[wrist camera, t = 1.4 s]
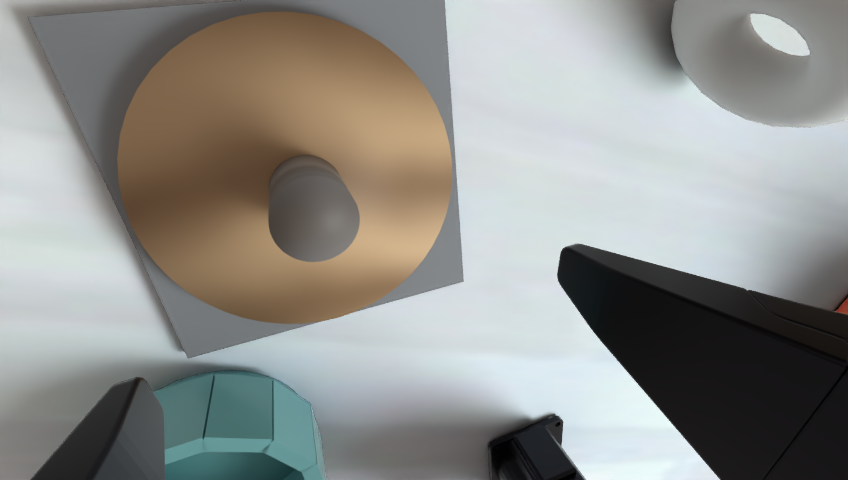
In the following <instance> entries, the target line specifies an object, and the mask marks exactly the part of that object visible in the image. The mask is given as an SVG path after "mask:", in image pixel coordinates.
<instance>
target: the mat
mask: <svg viewBox="0 0 848 480" xmlns="http://www.w3.org/2000/svg"><path fill="white" fill-rule="evenodd" d="M288 11H289V12H297V13H305V14H313V15H318V16H321V17H325V18H329V19H332V20H336V21H339V22H342V23H344V24H346V25H349V26H351V27H353V28H356V29H358V30H361V31H362V32H364V33H366V34H367V35H369V36H371V37H372V38H374V39H376V40H378V41H379V42H381V43H382V44H383V45H385V46H386V47H387V48H389V49H390V50H391V51H392V52H394V53H395V54H396V55H398V56H399V57H400V58H401V59H402V60H403V61H404V62H405V63H406V64H407V65H408V66H409V67H410V68H411V69H412V70H413V72H414V73H415V74H416V75H417V77H418V78H419V79H420V81H421V82H422V83H423V85H424V86H425V87H426V89H427V90H428V92H429V94H430V95H431V97H432V99H433V101H434V102H435V104H436V106H437V108H438V111H439V113H440V115H441V118H442V120H443V123H444V125H445V129H446V133H447V136H448V140H449V144H450V151H451V159H452V186H451V195H450V200H449V205H448V209H447V213H446V216H445V219H444V222H443V224H442V227H441V230H440V232H439V234H438V236H437V238H436V240H435V242H434V244H433V246H432V247H431V249H430V250H429V252H428V253H427V255H426V256H425V258H424V259H423V261H422V262H421V263H420V264H419V265H418V267H417V268H416V269H415V270H414V271H413V273H412V274H411V275H410V276H409V277H407V278H406V279H405V280H404V281H403V282H402V283H401V284H400V285H399V286H398V287H396V288H395V289H394V290H392V291H391V292H390V293H388V294H387V295H386V296H384V297H382V298H381V299H379V300H377V301H376V302H374V303H372V304H371V305H368V306H366V307H364V308H362V309H360V310H363V309H367V308H370V307H374V306H378V305H381V304H385V303H388V302H392V301H396V300H399V299H403V298H406V297H410V296H413V295H417V294H421V293H424V292H428V291H431V290H435V289H438V288H442V287H446V286H449V285H453V284H456V283H460V282H464V280H463V266H462V251H461V236H460V221H459V207H458V192H457V177H456V162H455V148H454V133H453V118H452V104H451V89H450V74H449V59H448V45H447V30H446V15H445V0H240V1H227V2H214V3H202V4H189V5H176V6H163V7H151V8H138V9H125V10H113V11H100V12H87V13H74V14H62V15H49V16H36V17H28V19H29V22H30V24H31V26H32V28H33V30H34V32H35V34H36V36H37V39H38V41H39V43H40V45H41V47H42V49H43V51H44V53H45V56H46V58H47V60H48V62H49V64H50V66H51V68H52V70H53V73H54V75H55V77H56V79H57V81H58V83H59V85H60V87H61V90H62V92H63V94H64V96H65V98H66V100H67V102H68V105H69V107H70V109H71V111H72V113H73V115H74V117H75V119H76V122H77V124H78V126H79V128H80V130H81V132H82V134H83V136H84V139H85V141H86V143H87V145H88V147H89V149H90V151H91V153H92V156H93V158H94V160H95V162H96V164H97V166H98V168H99V170H100V173H101V175H102V177H103V179H104V181H105V183H106V185H107V188H108V190H109V192H110V194H111V196H112V198H113V200H114V202H115V205H116V207H117V209H118V211H119V213H120V215H121V217H122V219H123V222H124V224H125V226H126V228H127V230H128V232H129V234H130V236H131V239H132V241H133V243H134V245H135V247H136V249H137V251H138V253H139V256H140V258H141V260H142V262H143V264H144V266H145V268H146V270H147V273H148V275H149V277H150V279H151V281H152V283H153V285H154V288H155V290H156V292H157V294H158V296H159V298H160V300H161V302H162V305H163V307H164V309H165V311H166V313H167V315H168V317H169V319H170V322H171V324H172V326H173V328H174V330H175V332H176V334H177V336H178V339H179V341H180V343H181V345H182V347H183V349H184V351H185V353H186V356H187V358H192V357H195V356H199V355H202V354H206V353H209V352H213V351H217V350H220V349H224V348H227V347H231V346H234V345H238V344H242V343H245V342H249V341H252V340H256V339H260V338H263V337H267V336H270V335H274V334H277V333H281V332H285V331H288V330H292V329H295V328H299V327H302V326H306V325H310V324H313V323H317V322H312V323H303V324H279V323H268V322H261V321H256V320H251V319H246V318H242V317H239V316H236V315H233V314H230V313H227V312H224V311H222V310H220V309H218V308H215V307H213V306H211V305H209V304H207V303H205V302H203V301H201V300H200V299H198V298H196V297H195V296H193V295H192V294H190V293H188V292H187V291H186V290H184V289H183V288H182V287H181V286H179V285H178V284H177V283H175V282H174V281H173V280H172V279H170V277H169V276H168V275H167V274H166V273H165V272H164V271H163V270H162V269H161V268H160V267H159V266H158V265H157V264H156V263H155V262H154V261H153V259H152V258H151V257H150V255H149V254H148V253H147V251H146V250H145V249H144V247H143V246H142V244H141V242H140V241H139V239H138V237H137V235H136V233H135V232H134V230H133V228H132V226H131V224H130V221H129V218H128V216H127V213H126V210H125V208H124V205H123V201H122V196H121V192H120V187H119V182H118V164H117V156H118V147H119V138H120V132H121V129H122V125H123V122H124V118H125V115H126V111H127V109H128V107H129V105H130V103H131V101H132V99H133V97H134V95H135V93H136V91H137V89H138V87H139V86H140V84H141V83H142V82H143V80H144V79H145V77H146V76H147V75H148V73H149V72H150V70H151V69H152V68H153V67H154V66H155V65H156V64H157V63H158V62H159V61H160V60H161V59H162V58H163V57H164V56H165V55H166V54H167V53H168V52H169V51H170V50H171V49H173V48H174V47H175V46H177V45H178V44H179V43H181V42H182V41H184V40H185V39H186V38H188V37H189V36H191V35H193V34H195V33H197V32H199V31H201V30H203V29H205V28H206V27H208V26H210V25H212V24H215V23H218V22H221V21H224V20H227V19H231V18H234V17H237V16H242V15H248V14H254V13H260V12H288ZM360 310H358V311H360ZM355 312H356V311H355Z"/></svg>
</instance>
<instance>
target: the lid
mask: <svg viewBox="0 0 848 480" xmlns="http://www.w3.org/2000/svg"><path fill="white" fill-rule="evenodd" d="M117 164H118V182H119V187H120V192H121V196H122V201H123V205H124V208H125V210H126V213H127V216H128V218H129V221H130V224H131V226H132V228H133V230H134V232H135V233H136V235H137V237H138V239H139V241H140V242H141V244H142V246H143V247H144V249H145V250H146V251H147V253H148V254H149V255H150V257H151V258H152V259H153V261H154V262H155V263H156V264H157V265H158V266H159V267H160V268H161V269H162V270H163V271H164V272H165V273H166V274H167V275H168V276H169V277H170V279H172V280H173V281H174V282H175V283H177V284H178V285H179V286H181V287H182V288H183V289H184V290H186V291H187V292H188V293H190V294H192V295H193V296H195V297H196V298H198V299H200V300H201V301H203V302H205V303H207V304H209V305H211V306H213V307H215V308H218V309H220V310H222V311H224V312H227V313H230V314H233V315H236V316H239V317H242V318H246V319H251V320H256V321H261V322H268V323H279V324H303V323H312V322H320V321H325V320H329V319H333V318H338V317H341V316H344V315H347V314H350V313H353V312H355V311H358V310H360V309H362V308H364V307H366V306H368V305H371V304H372V303H374V302H376V301H377V300H379V299H381V298H382V297H384V296H386V295H387V294H388V293H390V292H391V291H392V290H394V289H395V288H396V287H398V286H399V285H400V284H401V283H402V282H403V281H404V280H405V279H406V278H407V277H409V276H410V275H411V274H412V273H413V271H414V270H415V269H416V268H417V267H418V265H419V264H420V263H421V262H422V261H423V259H424V258H425V256H426V255H427V253H428V252H429V250H430V249H431V247H432V246H433V244H434V242H435V240H436V238H437V236H438V234H439V232H440V230H441V227H442V224H443V222H444V219H445V216H446V213H447V209H448V205H449V200H450V195H451V186H452V159H451V151H450V144H449V140H448V136H447V133H446V129H445V125H444V123H443V120H442V118H441V115H440V113H439V111H438V108H437V106H436V104H435V102H434V101H433V99H432V97H431V95H430V94H429V92H428V90H427V89H426V87H425V86H424V85H423V83H422V82H421V81H420V79H419V78H418V77H417V75H416V74H415V73H414V72H413V70H412V69H411V68H410V67H409V66H408V65H407V64H406V63H405V62H404V61H403V60H402V59H401V58H400V57H399V56H398V55H396V54H395V53H394V52H392V51H391V50H390V49H389V48H387V47H386V46H385V45H383V44H382V43H381V42H379V41H378V40H376V39H374V38H372V37H371V36H369V35H367V34H366V33H364V32H362V31H361V30H358V29H356V28H353V27H351V26H349V25H346V24H344V23H342V22H339V21H336V20H332V19H329V18H325V17H321V16H318V15H313V14H305V13H297V12H289V11H288V12H260V13H254V14H248V15H242V16H237V17H234V18H231V19H227V20H224V21H221V22H218V23H215V24H212V25H210V26H208V27H206V28H205V29H203V30H201V31H199V32H197V33H195V34H193V35H191V36H189V37H188V38H186V39H185V40H184V41H182V42H181V43H179V44H178V45H177V46H175V47H174V48H173V49H171V50H170V51H169V52H168V53H167V54H166V55H165V56H164V57H163V58H162V59H161V60H160V61H159V62H158V63H157V64H156V65H155V66H154V67H153V68H152V69H151V70H150V72H149V73H148V75H147V76H146V77H145V79H144V80H143V82H142V83H141V84H140V86H139V87H138V89H137V91H136V93H135V95H134V97H133V99H132V101H131V103H130V105H129V107H128V109H127V111H126V115H125V118H124V122H123V125H122V129H121V132H120V138H119V147H118V156H117Z"/></svg>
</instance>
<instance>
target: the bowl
mask: <svg viewBox="0 0 848 480" xmlns="http://www.w3.org/2000/svg"><path fill="white" fill-rule="evenodd" d="M153 393H154V394H155V396H156V397H157V399H158V400H159V402H160V404H161V406H162V408H163V412H164V434H165V480H327V479H326V471H325V463H324V456H323V448H322V440H321V435H320V432H319V429H318V426H317V422H316V419H315V416H314V413H313V410H312V406H311V404H310V403H309V402H308V401H306V400H305V399H303V398H301V397H300V396H298V394H297V393H296V392H295V391H294V390H292V389H291V388H290V387H288V386H287V385H285V384H284V383H282V382H280V381H278V380H276V379H273V378H271V377H268V376H265V375H261V374H258V373H252V372H246V371H215V372H208V373H202V374H198V375H194V376H190V377H187V378H184V379H181V380H178V381H175V382H173V383H171V384H169V385H167V386H164V387H162V388H161V389H159V390H157V391H153Z"/></svg>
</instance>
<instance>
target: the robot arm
mask: <svg viewBox="0 0 848 480" xmlns="http://www.w3.org/2000/svg"><path fill="white" fill-rule="evenodd" d="M557 277H558V281H559V283H560V285H561V287H562V288H563V289H564V291H565V292H566V294H567V295H568V297H569V298H570V299H571V301H572V302H573V304H574V305H575V307H576V308H577V309H578V311H579V312H580V314H581V315H582V316H583V318H584V319H585V321H586V322H587V324H588V325H589V326H590V328H591V329H592V330H593V332H594V333H595V334H596V336H597V337H598V338H599V339H600V340H601V342H602V343H603V344H604V345H605V346H606V347H607V349H608V350H609V351H610V352H611V353H612V354H613V356H614V357H615V358H616V359H617V360H618V361H619V362H620V364H621V365H622V366H623V367H624V368H625V369H626V371H627V372H628V373H629V374H630V375H631V376H632V378H633V379H634V380H635V381H636V382H637V383H638V385H639V386H640V387H641V388H642V389H643V390H644V392H645V393H646V394H647V395H648V396H649V397H650V399H651V400H652V401H653V402H654V403H655V404H656V405H657V407H658V408H659V409H660V410H661V411H662V412H663V414H664V415H665V416H666V417H667V418H668V419H669V421H670V422H671V423H672V424H673V425H674V426H675V428H676V429H677V430H678V431H679V432H680V433H681V435H682V436H683V437H684V438H685V439H686V440H687V442H688V443H689V444H690V445H691V446H692V447H693V448H694V450H695V451H696V452H697V453H698V454H699V455H700V457H701V458H702V459H703V460H704V461H705V462H706V464H707V465H708V466H709V467H710V468H711V469H712V471H713V472H714V473H715V474H716V475H717V476H718V478H719V479H720V480H848V314H844V313H839V312H835V311H831V310H826V309H822V308H818V307H814V306H809V305H805V304H801V303H797V302H793V301H789V300H786V299H782V298H778V297H774V296H770V295H766V294H763V293H759V292H756V291H752V290H748V291H747V290H746V289H744V288H741V287H737V286H733V285H730V284H726V283H722V282H719V281H715V280H711V279H708V278H704V277H700V276H697V275H693V274H689V273H686V272H682V271H678V270H675V269H671V268H667V267H664V266H660V265H656V264H653V263H649V262H645V261H642V260H638V259H634V258H631V257H627V256H623V255H620V254H616V253H612V252H609V251H605V250H601V249H598V248H594V247H590V246H587V245H583V244H574V245H570V246H567V247H565V248H563V249H562V251H561V254H560V260H559V267H558V273H557ZM562 431H563V420H562V419H561V418H560V417H559V416H555V417H552V418H550V419H547V420H545V421H542V422H539V423H537V424H534V425H532V426H529V427H527V428H524V429H522V430H519V431H517V432H514V433H512V434H509V435H507V436H504V437H501V438H499V439H496V440H494V441H492V442H491V443H490V444H489V446H488V450H489V471H490V480H586V479H585V478H584V476H583V475H582V474H581V472H580V471H579V470H578V468H577V467H576V466H575V464H574V463H573V462H572V460H571V459H570V458H569V456H568V455H567V454H566V452H565V451H564V450H563V448H562V447H561V444H562ZM31 480H165V434H164V412H163V408H162V406H161V404H160V402H159V400H158V399H157V397H156V396H155V394H154V393H153V391H152V390H151V388H150V386H149V385H148V383H147V382H146V380H145V379H143V378H141V377H136V378H133V379H129V380H126V381H123V382H120V383H117V384H115V385H113V386H112V387H111V388H110V389H109V390H108V391H107V393H106V394H105V395H104V396H103V397H102V398H101V399H100V401H99V402H98V403H97V404H96V405H95V406H94V407H93V409H92V410H91V411H90V412H89V413H88V414H87V415H86V417H85V418H84V419H83V420H82V421H81V422H80V423H79V425H78V426H77V427H76V428H75V429H74V430H73V431H72V433H71V434H70V435H69V436H68V437H67V438H66V439H65V441H64V442H63V443H62V444H61V445H60V446H59V447H58V449H57V450H56V451H55V452H54V453H53V454H52V456H51V457H50V458H49V459H48V460H47V461H46V462H45V464H44V465H43V466H42V467H41V468H40V469H39V470H38V472H37V473H36V474H35V475H34V476H33V477H32V478H31Z"/></svg>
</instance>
